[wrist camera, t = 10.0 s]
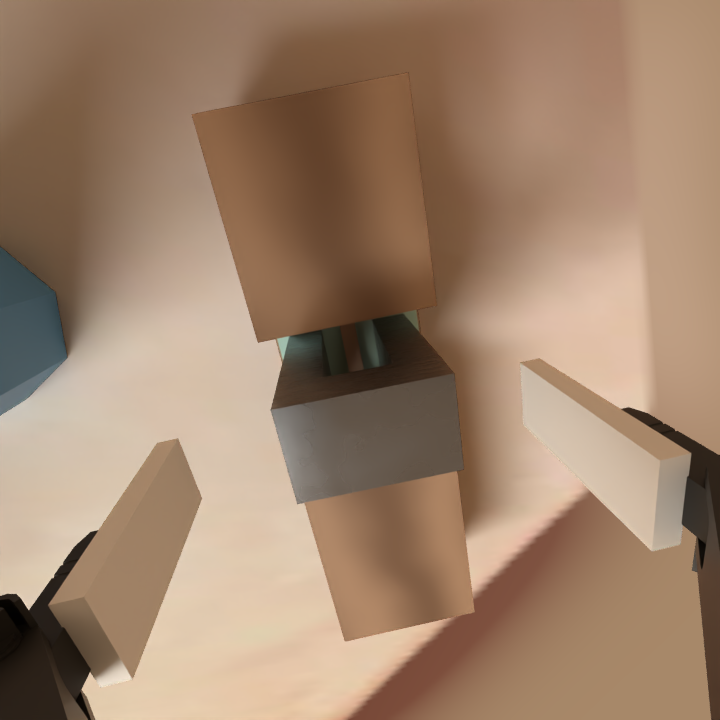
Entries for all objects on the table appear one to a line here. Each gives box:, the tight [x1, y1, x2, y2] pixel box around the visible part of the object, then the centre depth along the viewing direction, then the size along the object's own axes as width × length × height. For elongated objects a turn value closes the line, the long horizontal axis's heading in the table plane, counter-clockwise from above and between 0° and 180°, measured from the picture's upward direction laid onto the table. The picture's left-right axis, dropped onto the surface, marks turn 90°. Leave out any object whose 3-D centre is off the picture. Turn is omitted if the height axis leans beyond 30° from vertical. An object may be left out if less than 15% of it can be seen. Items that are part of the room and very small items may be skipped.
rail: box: [192, 73, 474, 641], centre depth 22 cm, size 8×28×5 cm, turn 11°
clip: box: [271, 314, 464, 504], centre depth 19 cm, size 6×4×9 cm, turn 100°
